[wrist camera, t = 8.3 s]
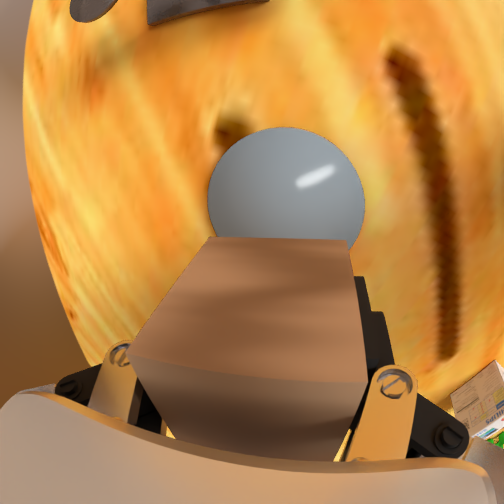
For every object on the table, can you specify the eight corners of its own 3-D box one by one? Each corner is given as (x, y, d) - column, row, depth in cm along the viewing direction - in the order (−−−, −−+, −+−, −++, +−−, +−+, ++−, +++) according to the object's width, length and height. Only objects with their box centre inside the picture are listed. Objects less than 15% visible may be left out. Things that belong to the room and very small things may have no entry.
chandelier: (466, 450, 47) (469, 468, 41) (507, 424, 39) (512, 443, 33) (482, 452, 48) (485, 469, 42) (519, 429, 40) (523, 446, 35)
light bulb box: (463, 401, 36) (473, 447, 27) (448, 394, 36) (458, 444, 26) (506, 368, 31) (523, 414, 22) (494, 358, 30) (513, 408, 21)
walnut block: (346, 240, 10) (368, 381, 4) (333, 341, 12) (329, 466, 7) (209, 236, 11) (124, 352, 6) (225, 334, 13) (180, 446, 8)
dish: (364, 127, 22) (366, 128, 21) (356, 273, 29) (357, 279, 28) (203, 133, 25) (198, 134, 24) (221, 268, 32) (218, 274, 31)
